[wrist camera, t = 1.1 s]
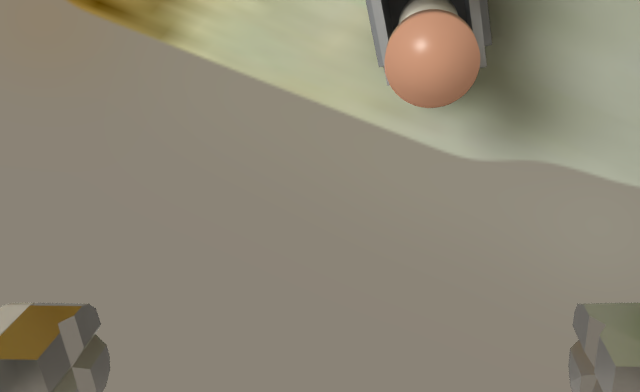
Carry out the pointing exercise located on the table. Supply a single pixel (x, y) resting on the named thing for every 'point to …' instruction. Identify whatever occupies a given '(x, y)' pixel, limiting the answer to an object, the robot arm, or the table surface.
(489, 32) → the socket board
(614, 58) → the table surface
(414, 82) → the terracotta plug
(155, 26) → the table surface
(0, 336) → the robot arm
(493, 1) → the table surface
